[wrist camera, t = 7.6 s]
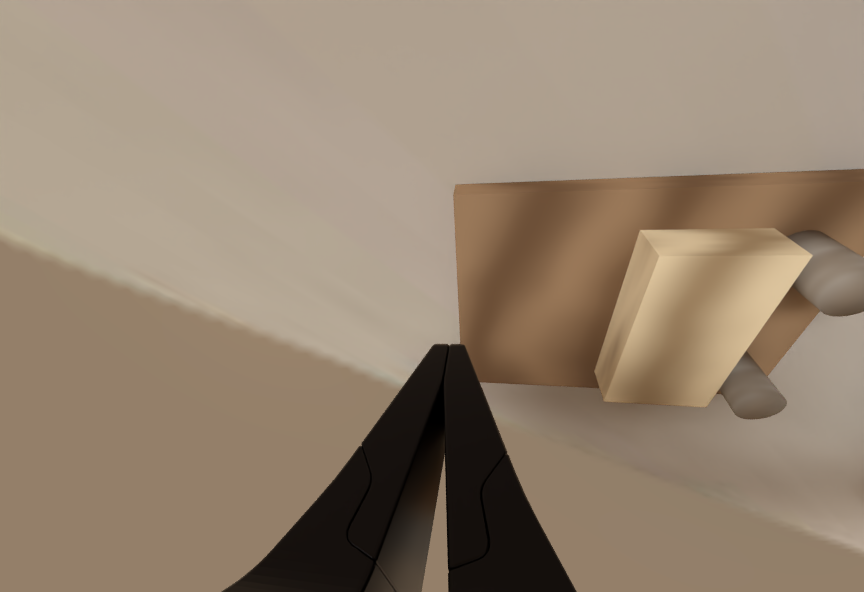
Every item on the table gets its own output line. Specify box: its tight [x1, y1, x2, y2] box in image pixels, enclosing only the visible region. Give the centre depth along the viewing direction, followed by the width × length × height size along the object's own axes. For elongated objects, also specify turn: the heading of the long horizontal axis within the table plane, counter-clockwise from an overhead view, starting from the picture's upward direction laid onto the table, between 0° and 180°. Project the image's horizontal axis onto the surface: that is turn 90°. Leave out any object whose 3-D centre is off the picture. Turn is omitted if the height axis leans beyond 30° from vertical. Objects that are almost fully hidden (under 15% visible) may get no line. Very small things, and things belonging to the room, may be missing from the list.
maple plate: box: [594, 228, 813, 407], centre depth 19 cm, size 6×11×2 cm, turn 5°
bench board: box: [453, 169, 864, 419], centre depth 20 cm, size 20×15×5 cm
